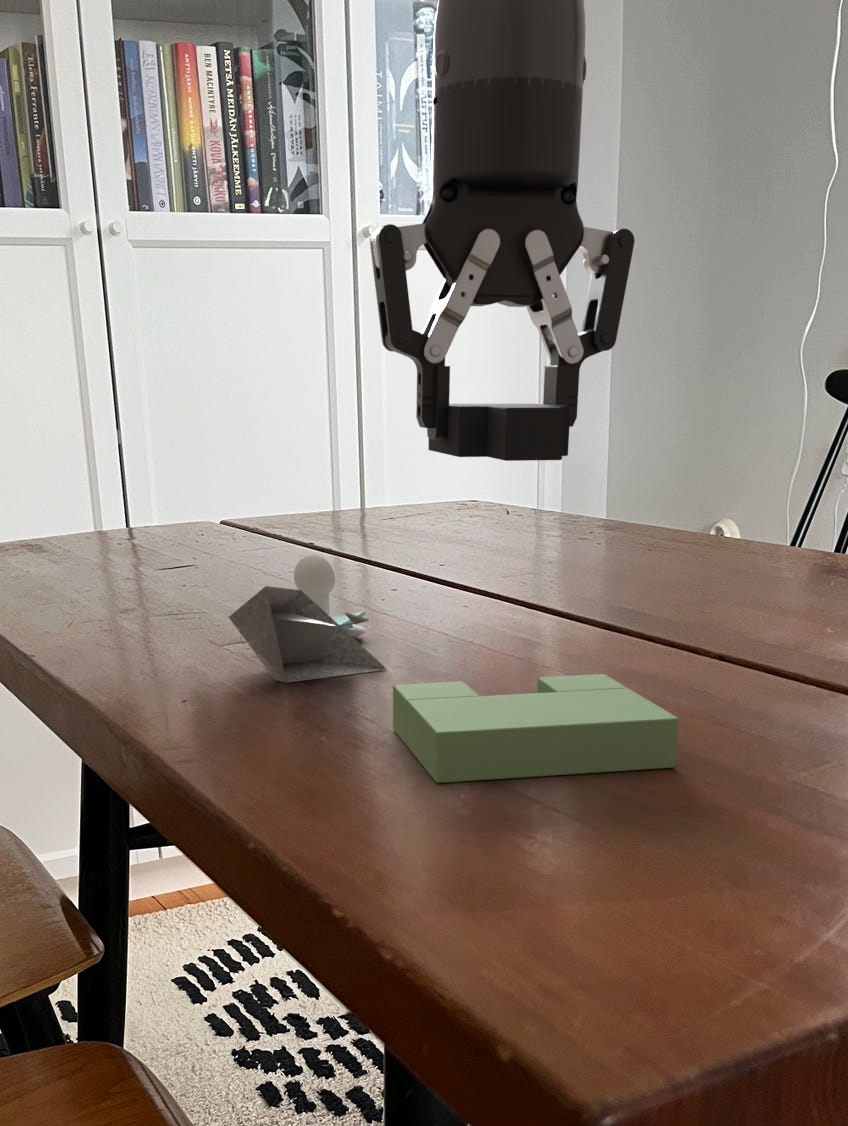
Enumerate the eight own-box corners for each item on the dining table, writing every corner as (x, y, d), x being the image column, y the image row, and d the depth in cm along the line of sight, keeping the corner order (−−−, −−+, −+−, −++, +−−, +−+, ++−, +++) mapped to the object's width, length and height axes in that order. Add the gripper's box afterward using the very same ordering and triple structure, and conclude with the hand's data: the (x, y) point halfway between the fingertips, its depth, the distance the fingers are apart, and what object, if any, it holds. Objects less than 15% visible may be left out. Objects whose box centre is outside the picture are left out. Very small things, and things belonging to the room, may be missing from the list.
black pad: (528, 449, 73) (530, 403, 72) (590, 459, 64) (594, 407, 63) (428, 450, 72) (428, 403, 71) (475, 461, 63) (477, 407, 62)
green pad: (602, 717, 71) (604, 673, 70) (675, 768, 61) (679, 718, 61) (392, 729, 69) (392, 684, 68) (436, 783, 59) (436, 732, 59)
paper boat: (322, 636, 87) (430, 612, 82) (309, 722, 86) (419, 704, 80) (199, 558, 78) (311, 525, 73) (183, 653, 77) (296, 627, 71)
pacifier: (285, 631, 96) (259, 644, 91) (283, 547, 94) (256, 555, 89) (378, 635, 94) (357, 648, 89) (378, 550, 92) (356, 558, 87)
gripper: (616, 106, 68) (596, 434, 74) (353, 96, 66) (354, 436, 71) (672, 76, 61) (645, 440, 67) (381, 63, 59) (379, 442, 65)
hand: (495, 437), depth 69 cm, fingers closed on black pad, 6 cm apart
